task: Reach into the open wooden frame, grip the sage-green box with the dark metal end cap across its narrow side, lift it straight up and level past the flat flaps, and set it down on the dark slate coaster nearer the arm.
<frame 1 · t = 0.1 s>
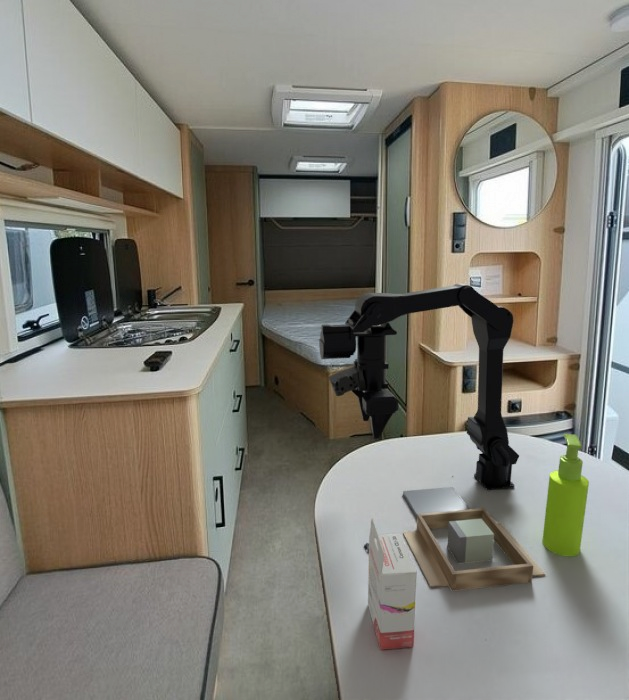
hand: (370, 429, 97), 15 cm above the table, tool pointing down, fingers open, 9 cm apart
wooden frame: (469, 552, 81), on the table
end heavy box: (469, 553, 81), resting in wooden frame
blueberries: (380, 553, 82), on the table
soap dispenser: (560, 544, 83), on the table
ink cartridge box: (389, 625, 66), on the table
coaster: (436, 505, 95), on the table
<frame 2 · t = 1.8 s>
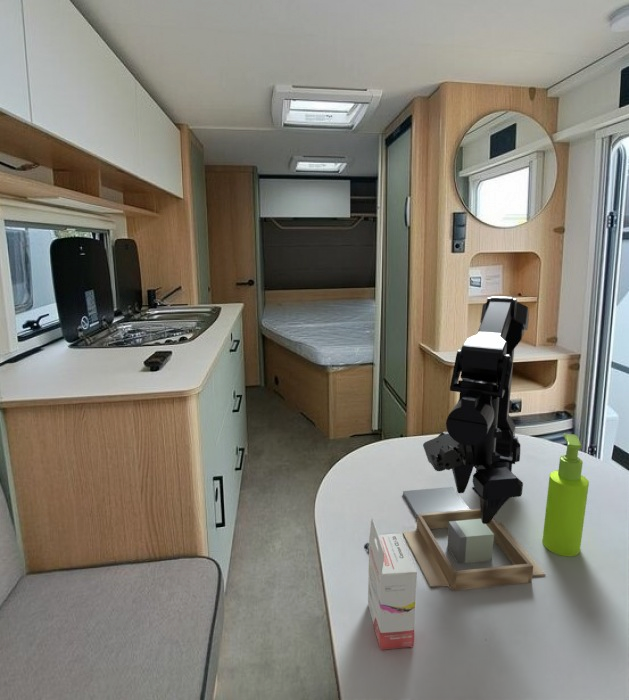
hand: (472, 507, 79), 9 cm above the table, tool pointing down, fingers open, 9 cm apart
nothing on the table moved.
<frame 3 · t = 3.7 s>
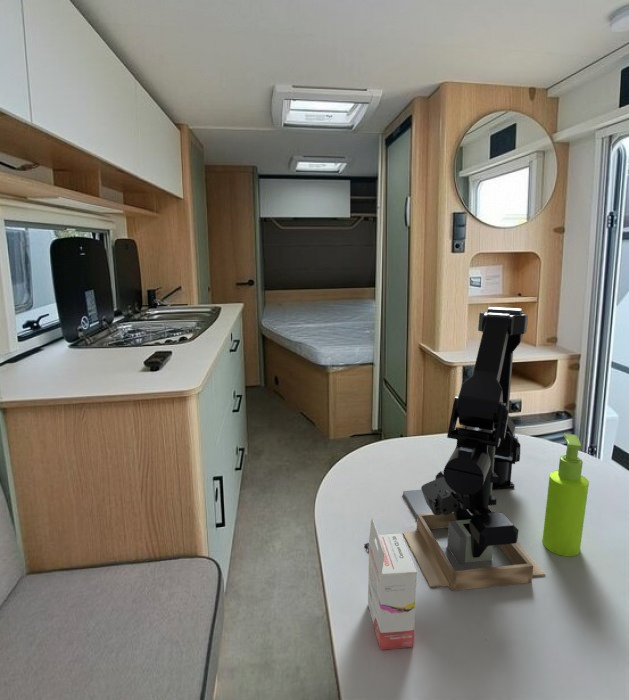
hand: (469, 547, 80), 1 cm above the table, tool pointing down, fingers closed on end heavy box, 4 cm apart
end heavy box: (469, 552, 81), resting in wooden frame, touching gripper
everything else where it was.
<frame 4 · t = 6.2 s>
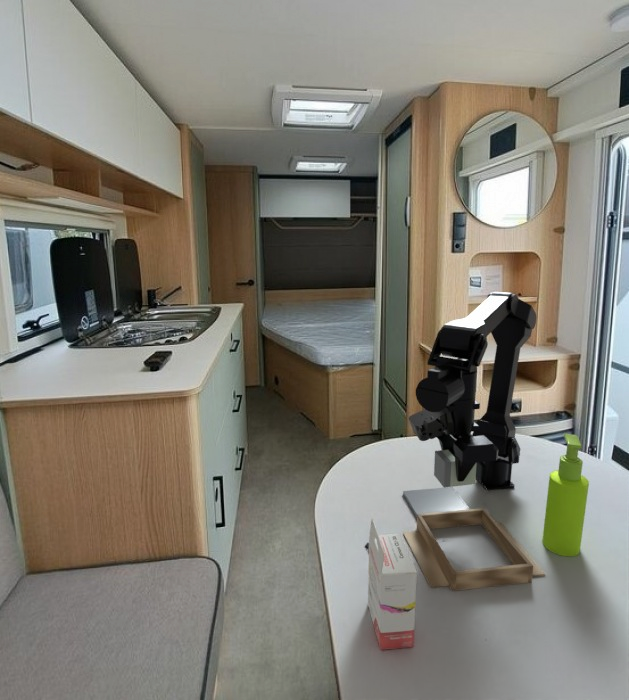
hand: (454, 474, 86), 11 cm above the table, tool pointing down, fingers closed on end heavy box, 4 cm apart
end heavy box: (454, 479, 86), point 10 cm above the table, touching gripper
everything else where it was.
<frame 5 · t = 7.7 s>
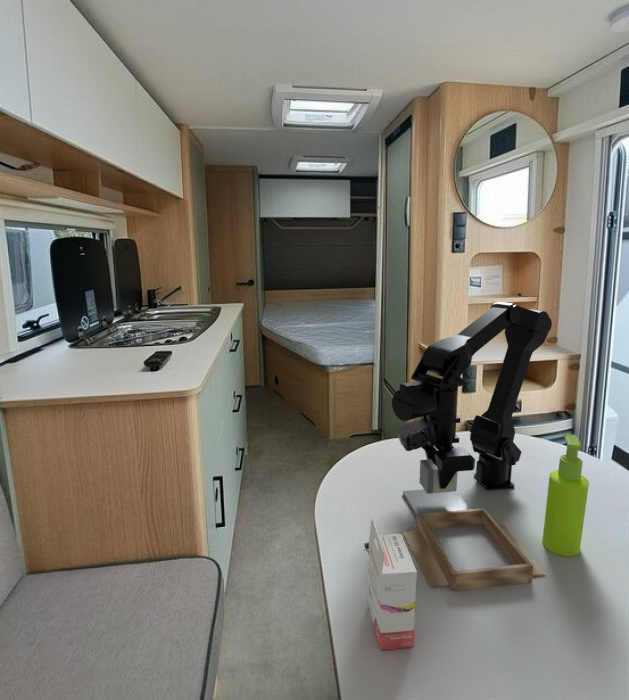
hand: (438, 482, 94), 5 cm above the table, tool pointing down, fingers closed on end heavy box, 4 cm apart
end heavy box: (437, 486, 94), point 4 cm above the table, touching gripper
everything else where it was.
when the fingers open (3 cm above the table, at t = 8.8 s): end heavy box drops 2 cm, resting on coaster.
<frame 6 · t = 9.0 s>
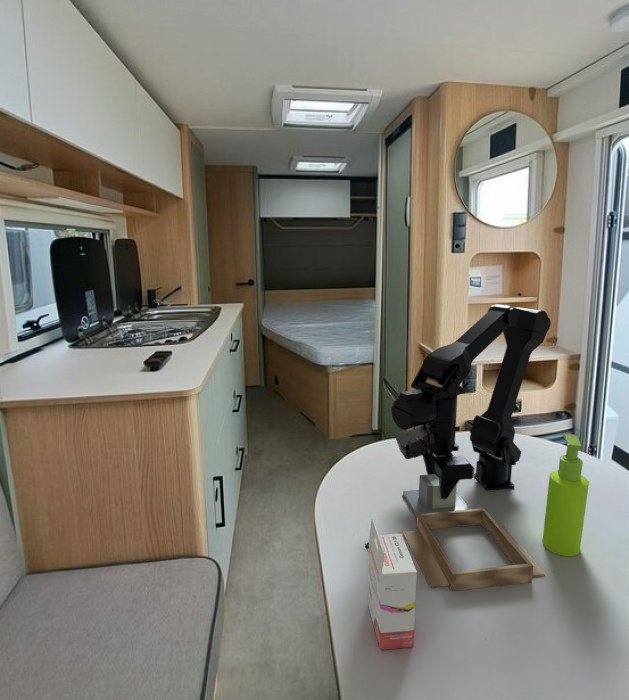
hand: (437, 489, 94), 3 cm above the table, tool pointing down, fingers open, 6 cm apart
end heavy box: (436, 501, 95), point 1 cm above the table, touching coaster
everything else where it was.
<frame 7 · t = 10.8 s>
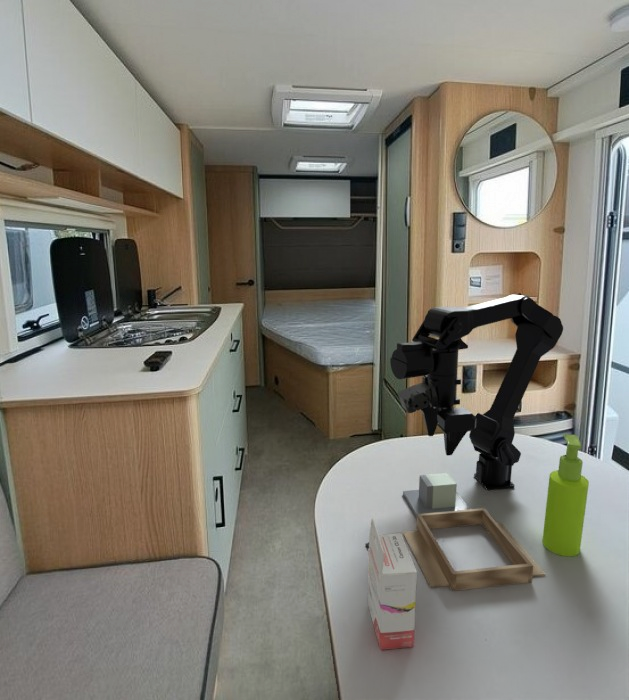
hand: (439, 445, 95), 12 cm above the table, tool pointing down, fingers open, 9 cm apart
nothing on the table moved.
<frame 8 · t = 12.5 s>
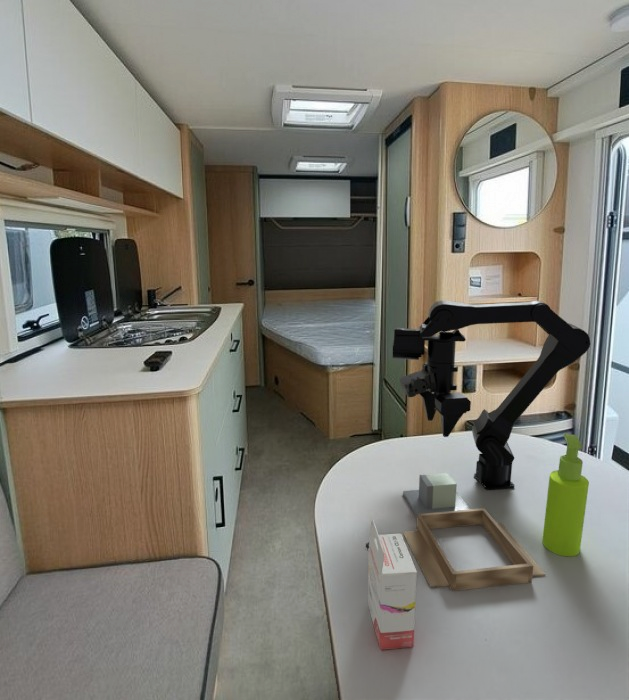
hand: (437, 428, 103), 12 cm above the table, tool pointing down, fingers open, 9 cm apart
nothing on the table moved.
at the end: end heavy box inside the target area on the coaster (0.0 cm from its centre), point 0.8 cm above the coaster's base; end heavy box tilted 0°; the gripper is holding nothing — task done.
